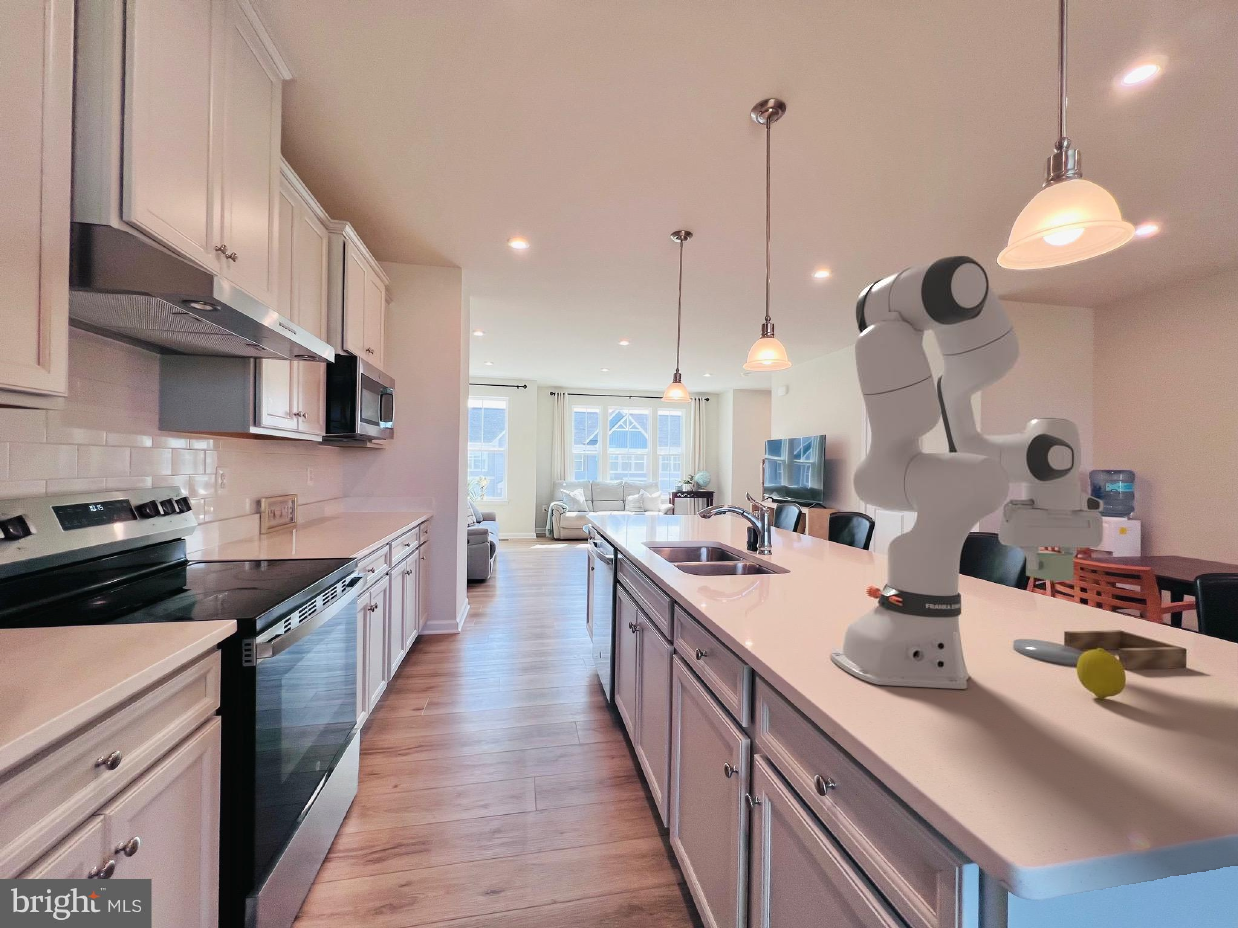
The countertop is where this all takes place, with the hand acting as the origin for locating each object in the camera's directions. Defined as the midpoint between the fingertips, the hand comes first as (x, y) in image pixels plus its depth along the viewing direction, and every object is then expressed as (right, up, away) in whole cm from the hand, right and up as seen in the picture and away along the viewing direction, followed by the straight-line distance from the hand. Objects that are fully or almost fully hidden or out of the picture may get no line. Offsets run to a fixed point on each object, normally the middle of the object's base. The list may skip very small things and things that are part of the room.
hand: (1049, 569), depth 97 cm
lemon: (-9, -17, -20) cm, 27 cm away
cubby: (+13, -17, -1) cm, 22 cm away
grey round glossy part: (0, -17, 0) cm, 17 cm away
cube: (0, -2, 0) cm, 2 cm away
